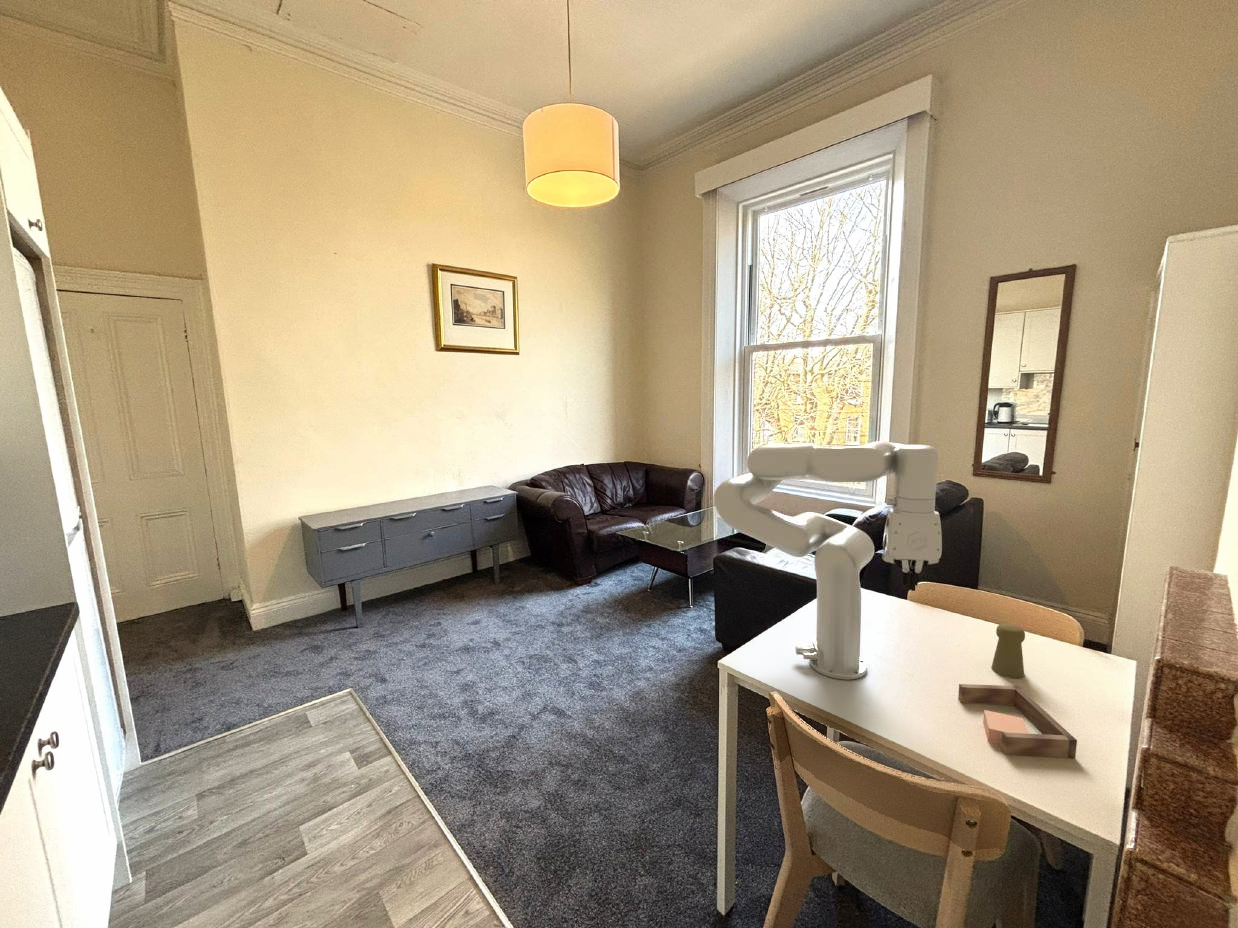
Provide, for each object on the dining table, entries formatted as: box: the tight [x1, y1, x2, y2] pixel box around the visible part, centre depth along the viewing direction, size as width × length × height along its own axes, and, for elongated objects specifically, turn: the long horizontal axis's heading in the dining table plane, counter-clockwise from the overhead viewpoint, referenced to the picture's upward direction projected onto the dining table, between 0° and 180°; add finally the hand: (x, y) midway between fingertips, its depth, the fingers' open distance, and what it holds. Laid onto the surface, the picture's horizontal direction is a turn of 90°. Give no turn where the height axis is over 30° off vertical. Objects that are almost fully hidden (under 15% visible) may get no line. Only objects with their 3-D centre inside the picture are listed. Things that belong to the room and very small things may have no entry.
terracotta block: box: [982, 709, 1029, 746], centre depth 96 cm, size 6×6×3 cm
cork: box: [991, 622, 1026, 680], centre depth 116 cm, size 6×6×11 cm
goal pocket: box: [957, 683, 1078, 759], centre depth 98 cm, size 11×16×4 cm
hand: (908, 588), depth 109 cm, fingers closed
